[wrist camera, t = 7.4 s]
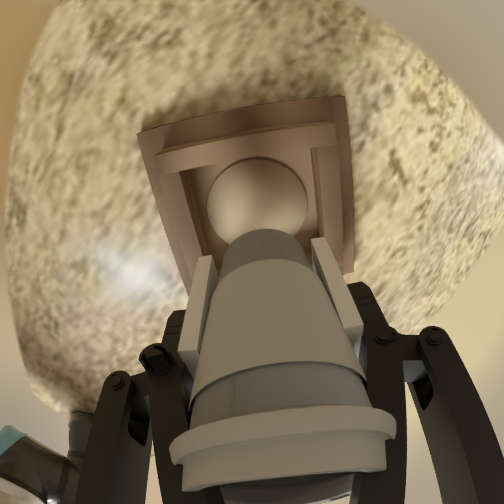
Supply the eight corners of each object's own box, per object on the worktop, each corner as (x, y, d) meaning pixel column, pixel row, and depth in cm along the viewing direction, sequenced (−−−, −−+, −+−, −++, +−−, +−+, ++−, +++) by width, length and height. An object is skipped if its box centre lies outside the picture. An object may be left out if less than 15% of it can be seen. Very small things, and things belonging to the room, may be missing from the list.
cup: (267, 328, 19) (281, 514, 9) (179, 275, 17) (128, 490, 6) (350, 255, 16) (440, 458, 6) (260, 180, 14) (296, 442, 4)
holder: (190, 291, 29) (185, 315, 26) (140, 132, 21) (124, 139, 18) (350, 266, 28) (361, 288, 25) (340, 96, 20) (356, 97, 17)
